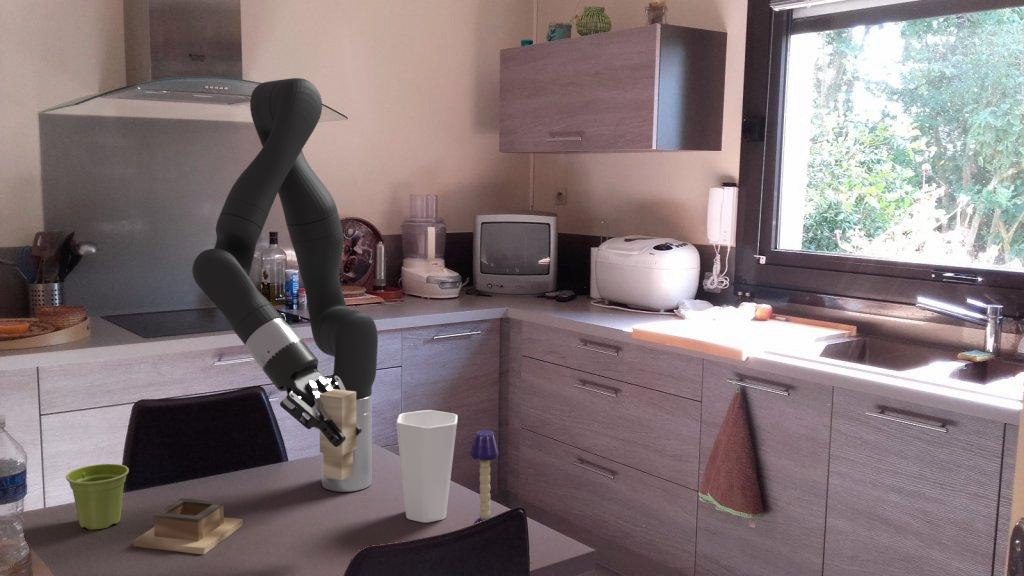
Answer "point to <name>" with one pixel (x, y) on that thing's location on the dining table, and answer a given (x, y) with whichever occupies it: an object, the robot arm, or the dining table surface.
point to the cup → (426, 462)
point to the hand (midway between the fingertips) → (349, 438)
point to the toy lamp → (484, 467)
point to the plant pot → (98, 494)
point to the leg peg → (344, 416)
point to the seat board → (189, 527)
